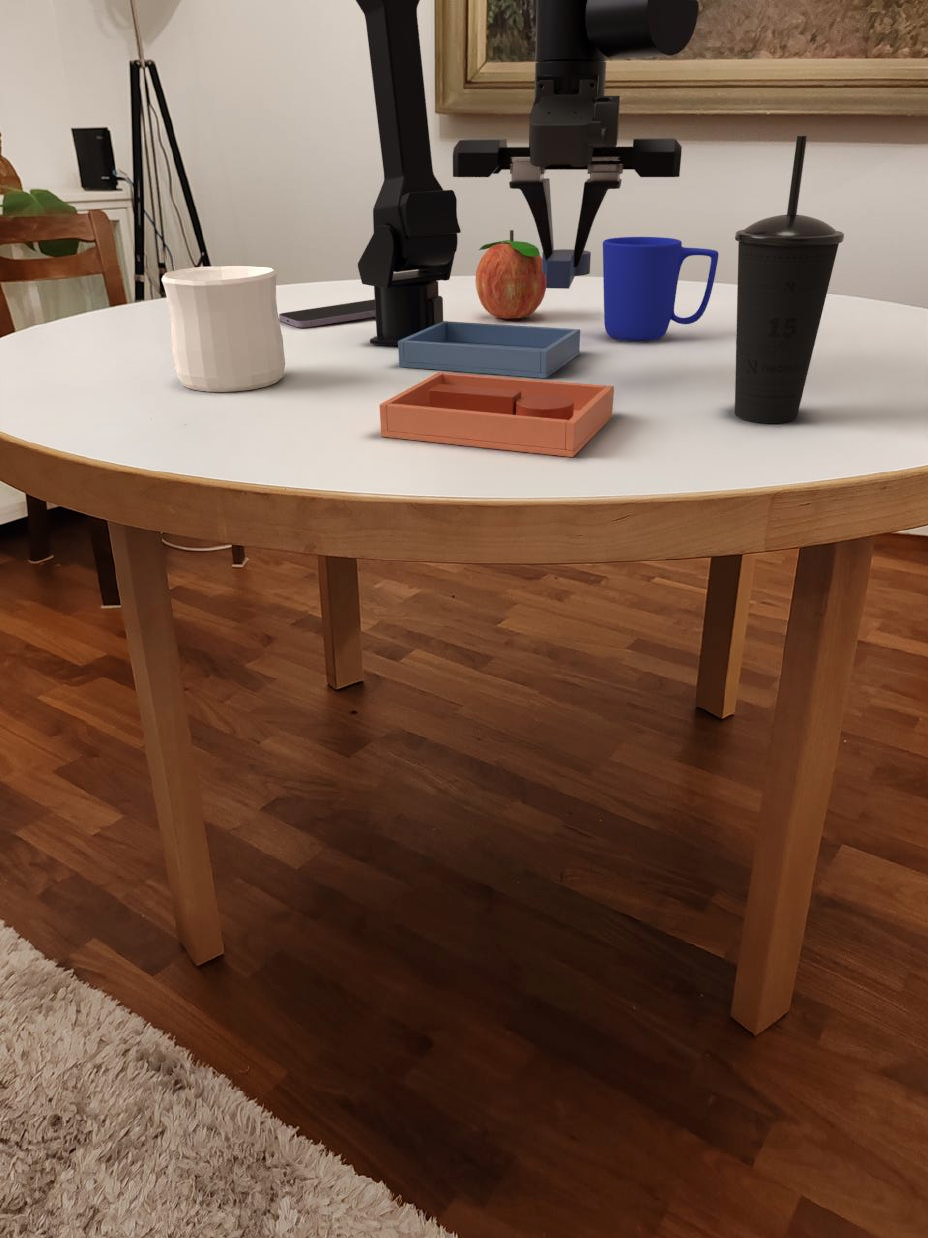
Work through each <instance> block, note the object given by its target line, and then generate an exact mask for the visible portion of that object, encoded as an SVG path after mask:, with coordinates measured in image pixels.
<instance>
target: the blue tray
mask: <svg viewBox="0 0 928 1238" xmlns="http://www.w3.org/2000/svg"><path fill="white" fill-rule="evenodd" d="M397 347H398V350H397V351H398V366H399V368H408V369H409V368H410V369H423V370H435V371H436V370H437V371H449V372H460V373H461V372H462V373H471V374H472V373H473V374H474V373H475V374H486V375H499V376H509V377H510V376H512V377H522V378H523V377H525V378H537V379H547V378H549V377H551V375H553V374H554V373H556V372H557V371H558V370H560V369H561V368H562V367H564V366H565V365H567V364H568V363H569V362H570V361H572V360H574V359H575V358H576V357H578V356H579V355H580V353H581V352H580V348H581V329H580V328H564V327H549V326H548V327H547V326H533V325H532V326H531V325H516V324H515V325H514V324H499V323H482V322H481V323H480V322H465V321H464V322H463V321H448V320H443V321H442V322H440V323H438V324H436V325H433V326H431V327H429V328H427V329H424V330H422V331H420V332H418V333H415V334H413V335H411V336H408V337H406V338H404V339H402V340H399V341H398V346H397Z"/></svg>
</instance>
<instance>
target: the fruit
mask: <svg viewBox="0 0 928 1238" xmlns="http://www.w3.org/2000/svg"><path fill="white" fill-rule="evenodd" d="M514 233H515V232H514V229H510V230H509V239H506V240H499V241H493V242H490V243H486V244H484V245H482V246H481V247H480V248H479V249H478V251H484V250H486V252H484V254H483V255H482V256H481V258H480V260H479V263H478V265H477V267H476V272H475V288H476V292H477V296H478V299H479V301H480V304H481V306H482V307H483V308H484V309H485V311H486V312H488V313H489V314H490V315H491V316H493V317H495V318H500V319H506V320H507V319H508V320H511V319H523V318H527V317H529V316H531V315H532V314H534V312H536V310H537V309H538V308H539V306H540V305H541V304H542V302H543V300H544V298H545V294H546V291H547V288H546V275H545V274H543V273H542V255H541V253H540V249H539V248H538V247H537V246H536V245H535V244H532V243H530V242H527V241H521V240H520V241H518V240H514V235H515V234H514Z"/></svg>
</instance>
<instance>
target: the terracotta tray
mask: <svg viewBox="0 0 928 1238" xmlns="http://www.w3.org/2000/svg"><path fill="white" fill-rule="evenodd" d="M438 384H445V385H457V386H469V387H481V388H492V389H504V390H516V391H521V397H524V396H529V395H537V394H552V395H560V396H565V397H568V398H571V399H572V400H573V401H574V414H573V417H572V418H571V419H570V420H569V421H568V420H563V419H552V418H541V417H531V416H520V415H509V414H499V413H488V412H477V411H467V410H456V409H445V408H435V407H430V398H429V390H430V389H432V388H433V387H435V386H437V385H438ZM614 392H615V386H614V385H606V384H605V385H604V384H595V383H581V382H580V383H579V382H568V381H555V380H543V379H542V380H541V379H531V378H518V377H506V376H505V377H504V376H494V375H493V376H492V375H481V374H469V373H468V374H467V373H457V372H444V371H438V372H436V373H435V374H433V375H430V376H429V377H426V378H425V379H424V380H422V381H420V382H418V383H416V384H414V385H412V386H411V387H408V388H407V389H405V390H403V391H401V392H400V393H397V394H396V395H394V396H392V397H391V398H388V399H387V400H385V401H383V402H381V403H379V419H380V420H379V421H380V434H381V435H380V436H381V437H383V438H391V439H392V438H393V439H399V440H400V439H401V440H410V441H419V442H429V443H439V444H445V445H446V444H447V445H456V446H466V447H473V448H485V449H494V450H502V451H511V452H512V451H513V452H520V453H521V452H522V453H531V454H540V455H551V456H559V457H567V458H574V457H575V456H576V455H577V454H578V453H579V452H580V451H581V450H582V449H583V448H584V446H586V445H587V444H588V442H589V441H590V440H592V439H593V438H594V436H596V434H597V433H598V432H599V431H600V430H601V429H602V428H603V427H604V426H605V425H606V424H607V423H608V422H609V421H610V420H611V419H612V418H613V411H614V410H613V409H614V407H613V406H614Z"/></svg>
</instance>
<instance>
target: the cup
mask: <svg viewBox="0 0 928 1238" xmlns="http://www.w3.org/2000/svg"><path fill="white" fill-rule="evenodd" d="M277 277H278V273H277V272H276V271H275V269H273V268H272V267H267V266H248V265H228V266H227V265H225V266H196V267H186V268H181V269H176V270H171V271H166V272H165V273H164V274H163V275H162V277H161V279H160V280H161V282H162V285H163V289H164V292H165V297H166V301H167V305H168V312H169V319H170V338H171V348H172V355H173V361H174V369H175V372H176V375H177V378H178V381H179V382H180V383H181V384H182V385H183V386H184V387H186V388H187V389H189V390H194V391H197V392H208V393H230V392H231V393H233V392H234V393H235V392H242V391H243V392H244V391H252V390H256V389H260V388H266V387H269V386H272V385H274V384H277V383H278V382H279V381H281V380H282V377H284V374H285V368H286V358H285V357H286V355H285V346H284V338H283V334H282V328H281V323H280V322H281V321H280V320H279V312H278V303H277V279H278V278H277Z"/></svg>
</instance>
